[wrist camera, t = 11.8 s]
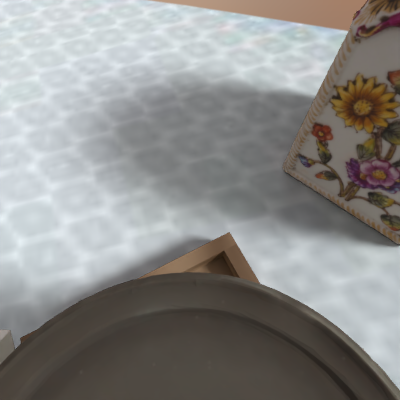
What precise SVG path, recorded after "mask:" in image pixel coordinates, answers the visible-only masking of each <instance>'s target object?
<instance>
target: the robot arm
mask: <svg viewBox="0 0 400 400" xmlns="http://www.w3.org/2000/svg"><path fill="white" fill-rule="evenodd" d="M362 349H363V348H362ZM14 350H15V347H14V343H13V339H12V335H11V331H10V330H0V364H1V363H2V362H3V361H4V360H5V359H6V358H7V357H8V356H9V355H10V354H11V353H12V352H13V351H14ZM363 350H364V349H363Z"/></svg>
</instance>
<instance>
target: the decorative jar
mask: <svg viewBox="0 0 400 400" xmlns="http://www.w3.org/2000/svg"><path fill="white" fill-rule="evenodd" d="M283 170H284V171H285V172H287V173H288V174H290V175H291V176H292V177H294V178H296V179H297V180H299V181H301V182H302V183H304V184H305V185H307V186H309V187H310V188H312V189H313V190H315V191H316V192H318V193H319V194H321V195H322V196H324V197H325V198H327V199H329V200H330V201H332V202H333V203H335V204H336V205H338V206H339V207H341V208H342V209H344V210H346V211H347V212H349V213H350V214H352V215H354V216H355V217H357V218H358V219H360V220H361V221H363V222H364V223H366V224H367V225H369V226H371V227H372V228H374V229H375V230H377V231H378V232H380V233H381V234H383V235H385V236H386V237H388V238H389V239H391V240H392V241H394V242H395V243H397V244H399V245H400V0H367V2H366V3H365V4H364V6H363V7H362V8H361V9H360V10H359V11H357V12H356V13H355V14H354V17H353V22H352V24H351V26H350V30H349V32H348V34H347V35H346V38H345V40H344V41H343V43H342V46H341V48H340V49H339V51H338V54H337V55H336V57H335V59H334V62H333V63H332V65H331V67H330V69H329V71H328V73H327V75H326V77H325V79H324V81H323V83H322V85H321V87H320V89H319V91H318V93H317V95H316V97H315V99H314V101H313V103H312V105H311V107H310V109H309V111H308V113H307V115H306V117H305V119H304V121H303V124H302V126H301V128H300V129H299V132H298V134H297V136H296V138H295V140H294V143H293V145H292V147H291V150H290V152H289V154H288V157H287V159H286V160H285V162H284V164H283Z"/></svg>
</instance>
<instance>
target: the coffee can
mask: <svg viewBox="0 0 400 400" xmlns="http://www.w3.org/2000/svg"><path fill="white" fill-rule="evenodd" d="M0 400H400V390H399V389H398V388H397V387H396V385H395V384H394V383H393V382H392V381H391V379H390V378H389V377H388V375H387V374H386V373H385V372H384V371H383V370H382V369H381V367H380V366H379V365H378V364H377V363H376V362H374V361H373V360H372V359H371V357H370V356H369V355H368V354H367V353H366V352H365V351H364V350H363V349H362V348H361V347H360V346H359V345H358V344H357V343H355V342H354V341H353V340H352V339H351V338H350V337H349V336H348V335H346V334H345V333H344V332H343V331H342V330H341V329H340V328H338V327H337V326H336V325H334V324H333V323H332V322H330V321H329V320H328V319H326V318H325V317H323V316H322V315H320V314H319V313H318V312H316V311H314V310H313V309H311V308H310V307H308V306H306V305H305V304H303V303H301V302H299V301H297V300H295V299H293V298H291V297H289V296H287V295H285V294H283V293H281V292H279V291H277V290H275V289H272V288H270V287H267V286H265V285H262V284H259V283H256V282H252V281H249V280H246V279H242V278H237V277H233V276H229V275H221V274H212V273H201V272H183V273H168V274H160V275H152V276H149V277H145V278H141V279H135V280H131V281H128V282H125V283H122V284H119V285H116V286H113V287H110V288H108V289H105V290H103V291H100V292H98V293H96V294H94V295H92V296H90V297H88V298H85V299H83V300H81V301H79V302H78V303H76V304H74V305H73V306H71V307H69V308H68V309H66V310H64V311H63V312H61V313H60V314H58V315H57V316H55V317H54V318H52V319H51V320H49V321H48V322H46V323H45V324H44V325H43V326H41V327H40V328H39V329H38V330H37V331H35V332H34V333H33V334H32V335H31V336H29V337H28V338H27V339H26V340H25V341H23V342H22V343H21V344H20V345H19V346H18V347H17V348H16V349H15V350H14V351H13V352H12V353H11V354H10V355H9V356H8V357H7V358H6V359H5V360H4V361H3V362H2V363H1V364H0Z"/></svg>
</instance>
